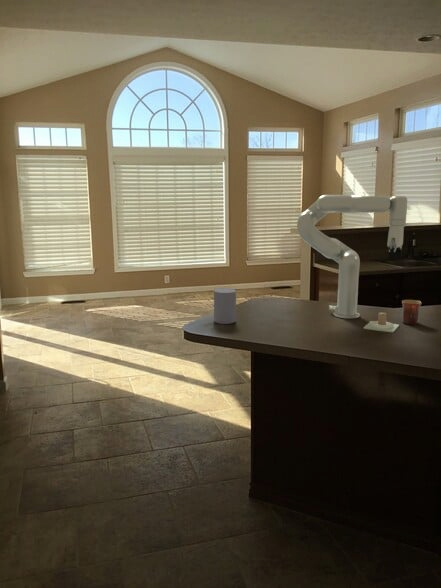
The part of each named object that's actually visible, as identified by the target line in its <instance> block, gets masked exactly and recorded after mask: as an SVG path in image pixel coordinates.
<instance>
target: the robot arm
mask: <svg viewBox="0 0 441 588" xmlns="http://www.w3.org/2000/svg"><path fill="white" fill-rule="evenodd" d="M407 209H408V198H407V197H406V196H403V195H397V196H396V195H395V196H394V195H393V196H389V195H388V196H387V195H378V196H377V195H373V196H372V195H371V196H370V195H368V196H366V195H357V194H323V195H321V196H319V197H318V198H317V200H316V201H315V202H313V203H312V204H311V205H310V206H309V207H308V208H307V209H305V210H304V211H303V212H301V213H300V214H299V216H298V219H297V224H296V228H297V233H298V235H299V236H300V238H301V240H303V242H305V243H306V244H307V245H309V246H310V247H311V248H313V249H314V250H316V251H317V252H318V253H320V254H321V255H322V256H324V257H325V258H327V259H330V260H333V261H334V262H336V263H337V264H338V282H337V283H338V284H337V301H336V304H337V305H328V310H329V311H334V312H333V316H334V317H337V318H340V319H358V318H359V317H360V313H359V312H357V310H358V295H359V277H360V264H361V261H360V260H361V259H360V256H359V254H358V253H357V252H356V251H355V250H354V249H352V248H350V247H349V246H347V245H346V244H345V243H343V242H342V241H340V240H339V239H337V238H334V237H330V236H328V235H326V234H325V233H323V232H322V231H320V230H319V229H318V228H317V227H316V226H315V225H317V223H318V222H320V221H321V220H323V218H324V217H326V216H327V214H330V213H333V214H336V213H337V214H341V213H342V214H343V213H344V214H351V213H352V214H356V213H375V214H376V213H378V214H379V213H381V214H382V213H385V212H389V218H388V226H389V229H388V235H387V244H386V246H387V248H388V259H387V260H388V261H394V262H395V261H396V259H402V252H403V244H404V229H405V227H406V225H407V211H408V210H407Z"/></svg>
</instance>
